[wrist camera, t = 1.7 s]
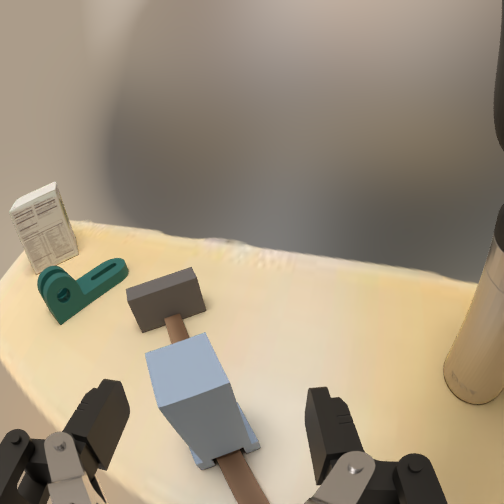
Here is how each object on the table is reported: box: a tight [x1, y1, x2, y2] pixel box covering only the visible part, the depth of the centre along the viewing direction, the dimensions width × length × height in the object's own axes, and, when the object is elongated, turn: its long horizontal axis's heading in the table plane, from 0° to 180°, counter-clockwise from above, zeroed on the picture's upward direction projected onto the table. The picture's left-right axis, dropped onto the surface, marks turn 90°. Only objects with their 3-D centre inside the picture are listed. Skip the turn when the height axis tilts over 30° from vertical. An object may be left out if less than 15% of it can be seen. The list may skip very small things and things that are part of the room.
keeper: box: [145, 332, 261, 470], centre depth 22 cm, size 6×5×13 cm
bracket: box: [37, 258, 128, 325], centre depth 48 cm, size 18×7×8 cm, turn 144°
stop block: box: [126, 267, 206, 333], centre depth 41 cm, size 10×3×6 cm, turn 114°
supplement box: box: [9, 182, 78, 274], centre depth 61 cm, size 13×13×18 cm
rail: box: [164, 313, 270, 504], centre depth 29 cm, size 2×29×1 cm, turn 24°
